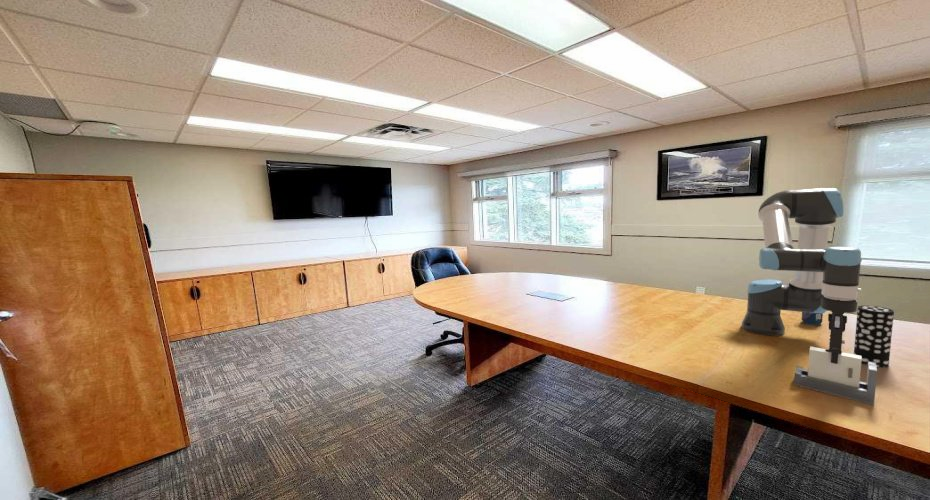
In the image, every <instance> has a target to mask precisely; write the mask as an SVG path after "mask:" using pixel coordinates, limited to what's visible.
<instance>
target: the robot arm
mask: <svg viewBox="0 0 930 500" xmlns="http://www.w3.org/2000/svg"><path fill="white" fill-rule="evenodd" d="M843 216H844V202H843V196H842V193H841V191H840V190H839V189H838V188H836V187H831V188H830V187H829V188H828V187H827V188H825V187H820V188H807V189H806V188H804V189H793V190H792V189H789V190H781V191H778V192H776V193H774V194H772V195H769V197H768V198H766V199H765V200H764V201H763V202H762V203H761V205H760V206H759V208H758V219H759V220H760V221H761V222H762V229H763V238H764V239H763V241H764V248H761V249H760V250H759V253H758V254H759V256H758V260H759V261H758V264H759V265H758V266H759V268H760V269H762V270H772V271H788V272H790V271H791V272H793V271H794V277H793V278H790V279H789V281H788V282H789V283H787V284H786V283H783V282H782V281H781V280H779V279H757V280H752V281H751V282H749V283H748V289H747V291H746V292H747V305H746V309H747V310H746V313H745V315H744V316H743V317H744V318H743V319H742V321H741V328H742V329H743V330H744V331H747V332H751V333H753V334H758V335H762V336H763V335H764V336H782V335H783V336H784V335H785V331H786V329H785V328H786V327H785V325H784V322H783V320H782V316H781V311H786V312H787V311H790V312H797V313H802V312H807V313H823V314H825V313H826V312H827V311H830V312H831V313H830V312H829V313H828V314H827V315H828V317H827V321H828V329H829V330H830V333H829V337H830V338H829V343H828V348H826V351H827V352H828V363H827V371H828V372H832V373H837V374H840V366H841V353H842V352H843V351H842V347H843V345H842V344H844V345H845V343H846V342H845V340H843V333H844V332H846V324H847V323H848V315H845V314H846V313H848V314H852V313H855V312H857V311H858V300H857V298H858V296H859V294H858V293H859V292H862V288H859V285H860V284H859V283H860V272H861V264H862V261H863V259H862V251H861V249H859V248H857V247H849V246H829V247H828V240H829V233H830V232H829V231H830V226H832V225H834V224H835V223H836V220H837V219H840V218H842V217H843ZM789 219H794V223H795V224H796V225H798V226H799V229H798V239H797V248H794V244H793V238H792V234H791V227H790V223H789Z"/></svg>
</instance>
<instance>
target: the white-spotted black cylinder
mask: <svg viewBox="0 0 930 500" xmlns="http://www.w3.org/2000/svg"><path fill="white" fill-rule="evenodd" d="M856 312H857V313H856V323H855V324H856V325H855V334H854V335H855V336H854V337H855V338H854V347H853V354H854V355H859V356H861V357H862V361H861V365H862V364H863V365H867V366H868V362H874V363H876V367H877V368H887V367H889V365H890V357H891V347H892V346H891V345H892V337H893V324H894V316H895V315H894V314H895V310H894V309H891V308H888V307H883V306H876V305H857V311H856Z"/></svg>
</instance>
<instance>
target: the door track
mask: <svg viewBox="0 0 930 500" xmlns="http://www.w3.org/2000/svg"><path fill="white" fill-rule="evenodd" d="M877 377H878V367H876V363H874V362H868V365H867V371H866V379H865V380H866V382H865V381H860V384H859V388H857V387H853V386H848V385H844V384H840V383H835V382H831V381H827V380H822V379H818V378H814V377H809V376H808V369H804V367H803V366H799V365H796V367H795V371H794V380H793V386H795V385H796V387H799V386H800V387H801V388H803V387H804V389H807V388H808V389H807V390H811V389H813V391H815V390H816V392H819V391H820V392H819V393H823V392H824V393H823V394H827V393H828V394H827V395H831V394H832V396H836V397H839V398H844V399H848V400H852V401H856V402H860V403H864V404H868V405H873V406H874V405H875V400H876V399H875V397H876V390H877V389H876V387H877ZM800 387H799V388H800Z"/></svg>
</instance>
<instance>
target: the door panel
mask: <svg viewBox="0 0 930 500" xmlns="http://www.w3.org/2000/svg"><path fill="white" fill-rule="evenodd" d="M826 349H827V348H826ZM826 349H825V348H820V347H817V346H816V347H815V346H809V351H808V352H809V353H808V369H807V370H808V376H809V377H814V378H818V379H822V380H827V381H831V382H835V383H840V384H844V385H848V386H853V387H857V388H859V384H860V382H861V371H862V363H861V361H862V357H861V356H859V355H854V353H848V352H843V351H842V353H841V366H840V374H837V373H832V372H828V371H827V363H828V352H827V351H826Z"/></svg>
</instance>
